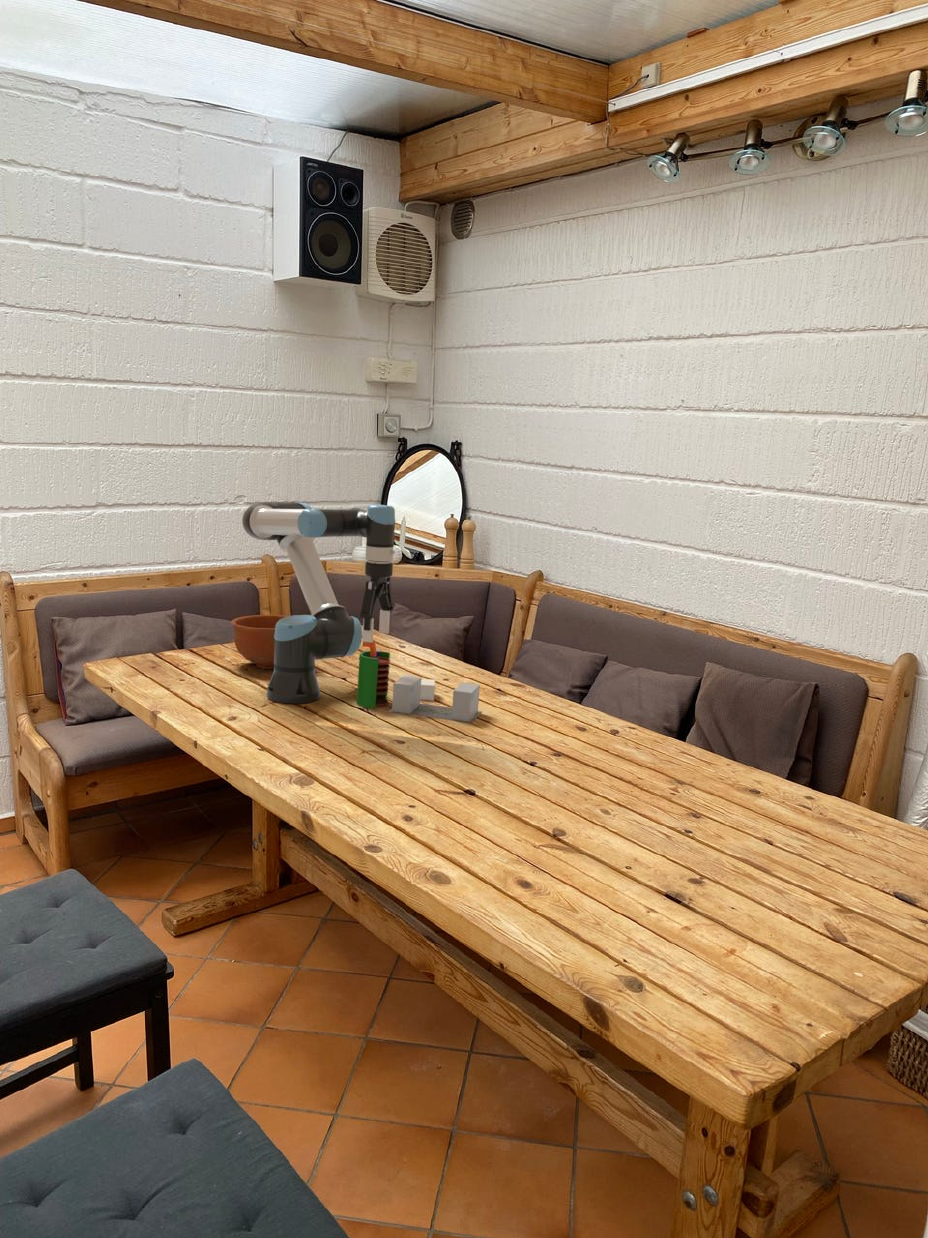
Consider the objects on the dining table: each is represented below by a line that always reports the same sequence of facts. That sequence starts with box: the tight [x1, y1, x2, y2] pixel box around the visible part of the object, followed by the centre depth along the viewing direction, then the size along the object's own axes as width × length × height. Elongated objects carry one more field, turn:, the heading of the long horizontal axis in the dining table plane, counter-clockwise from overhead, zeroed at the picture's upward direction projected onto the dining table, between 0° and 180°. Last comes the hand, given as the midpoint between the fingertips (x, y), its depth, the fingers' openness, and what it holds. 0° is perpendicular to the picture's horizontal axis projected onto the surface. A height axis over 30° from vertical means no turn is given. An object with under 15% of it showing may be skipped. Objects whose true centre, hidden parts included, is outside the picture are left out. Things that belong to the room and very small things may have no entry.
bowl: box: [230, 614, 289, 670], centre depth 309 cm, size 25×25×15 cm
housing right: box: [451, 681, 481, 721], centre depth 262 cm, size 5×10×8 cm, turn 166°
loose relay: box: [420, 678, 436, 701], centre depth 280 cm, size 5×7×6 cm
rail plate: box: [387, 703, 483, 724], centre depth 265 cm, size 24×12×2 cm, turn 76°
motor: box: [356, 639, 391, 710], centre depth 268 cm, size 10×9×20 cm
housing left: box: [391, 675, 423, 714], centre depth 266 cm, size 5×10×8 cm, turn 166°
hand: (375, 637), depth 266 cm, fingers open, 13 cm apart
